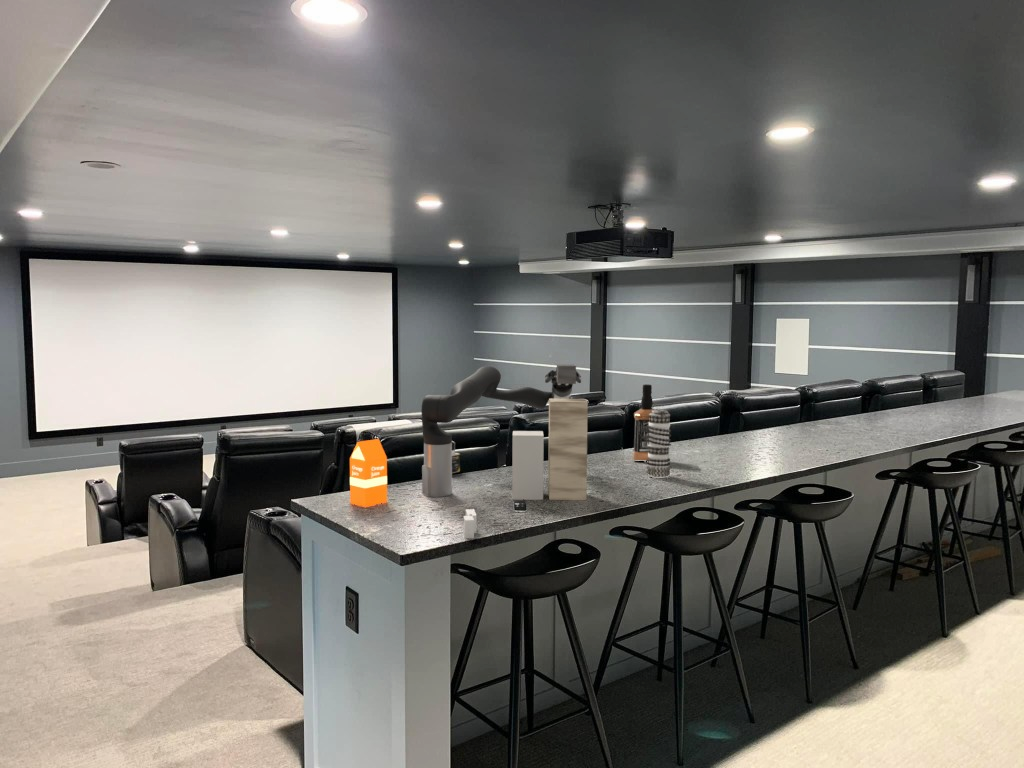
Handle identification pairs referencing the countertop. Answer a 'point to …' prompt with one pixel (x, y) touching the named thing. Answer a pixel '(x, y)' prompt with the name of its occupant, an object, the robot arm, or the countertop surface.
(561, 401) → the stand
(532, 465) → the tall white pillar block
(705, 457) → the countertop surface
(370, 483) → the orange juice
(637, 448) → the whiskey bottle
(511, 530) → the countertop surface
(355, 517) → the countertop surface
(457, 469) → the medicine bottle
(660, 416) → the decorative candle
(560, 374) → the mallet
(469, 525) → the napkin holder
